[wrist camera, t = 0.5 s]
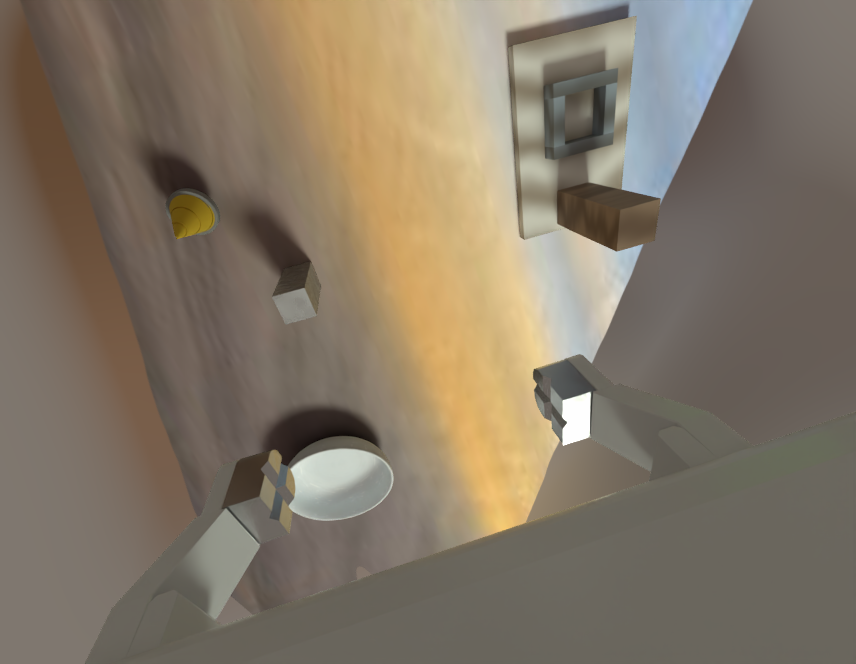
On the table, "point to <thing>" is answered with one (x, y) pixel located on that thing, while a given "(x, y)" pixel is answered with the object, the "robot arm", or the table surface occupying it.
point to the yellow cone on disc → (192, 212)
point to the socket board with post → (577, 136)
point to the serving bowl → (339, 478)
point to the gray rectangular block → (297, 293)
